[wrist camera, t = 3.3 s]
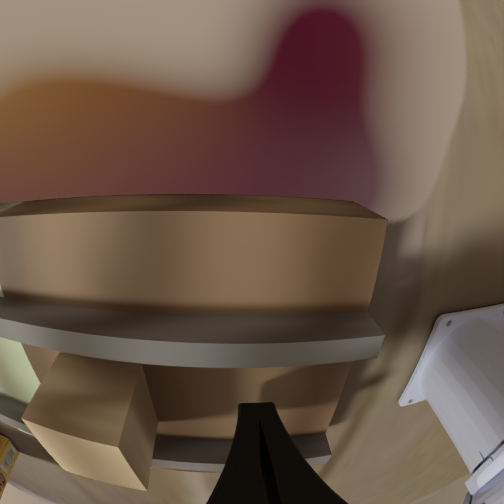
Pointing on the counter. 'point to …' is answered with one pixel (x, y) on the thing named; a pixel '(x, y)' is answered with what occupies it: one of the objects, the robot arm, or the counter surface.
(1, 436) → the candy box
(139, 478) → the birch block
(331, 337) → the lane deck
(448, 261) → the counter surface
